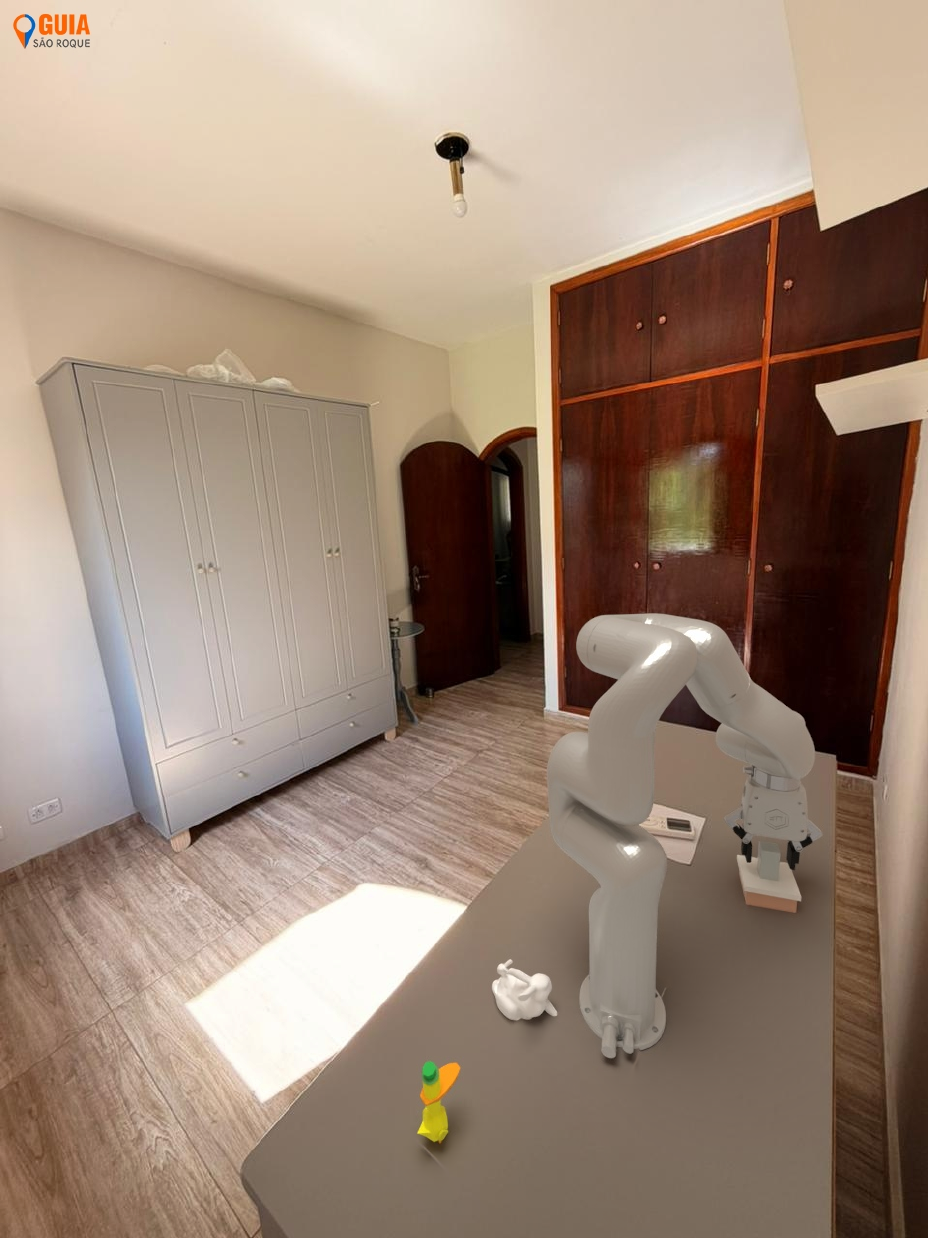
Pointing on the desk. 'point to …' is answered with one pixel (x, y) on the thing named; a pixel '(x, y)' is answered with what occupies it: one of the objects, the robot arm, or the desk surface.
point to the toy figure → (436, 1098)
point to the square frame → (769, 901)
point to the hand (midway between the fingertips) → (768, 860)
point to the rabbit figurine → (522, 993)
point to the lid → (768, 873)
